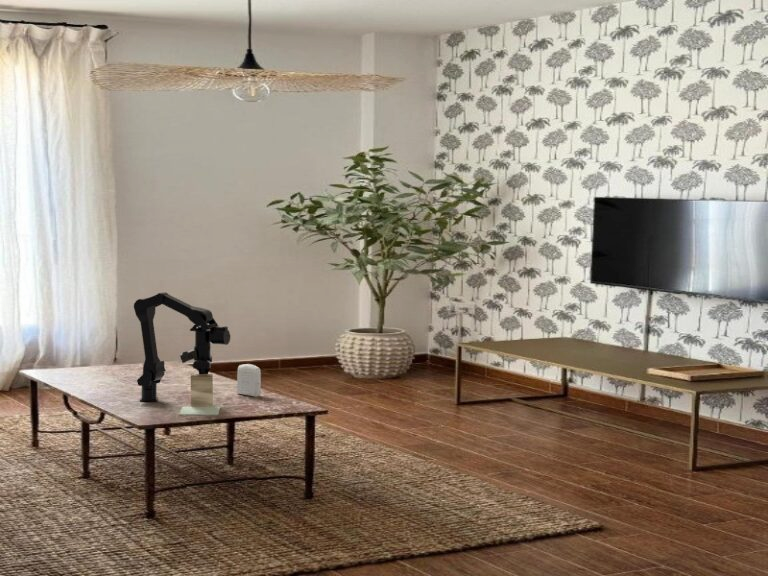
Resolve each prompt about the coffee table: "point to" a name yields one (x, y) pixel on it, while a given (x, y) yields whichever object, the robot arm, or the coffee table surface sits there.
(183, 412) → the mat
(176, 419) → the coffee table surface
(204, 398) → the birch tile
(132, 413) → the coffee table surface
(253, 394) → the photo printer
